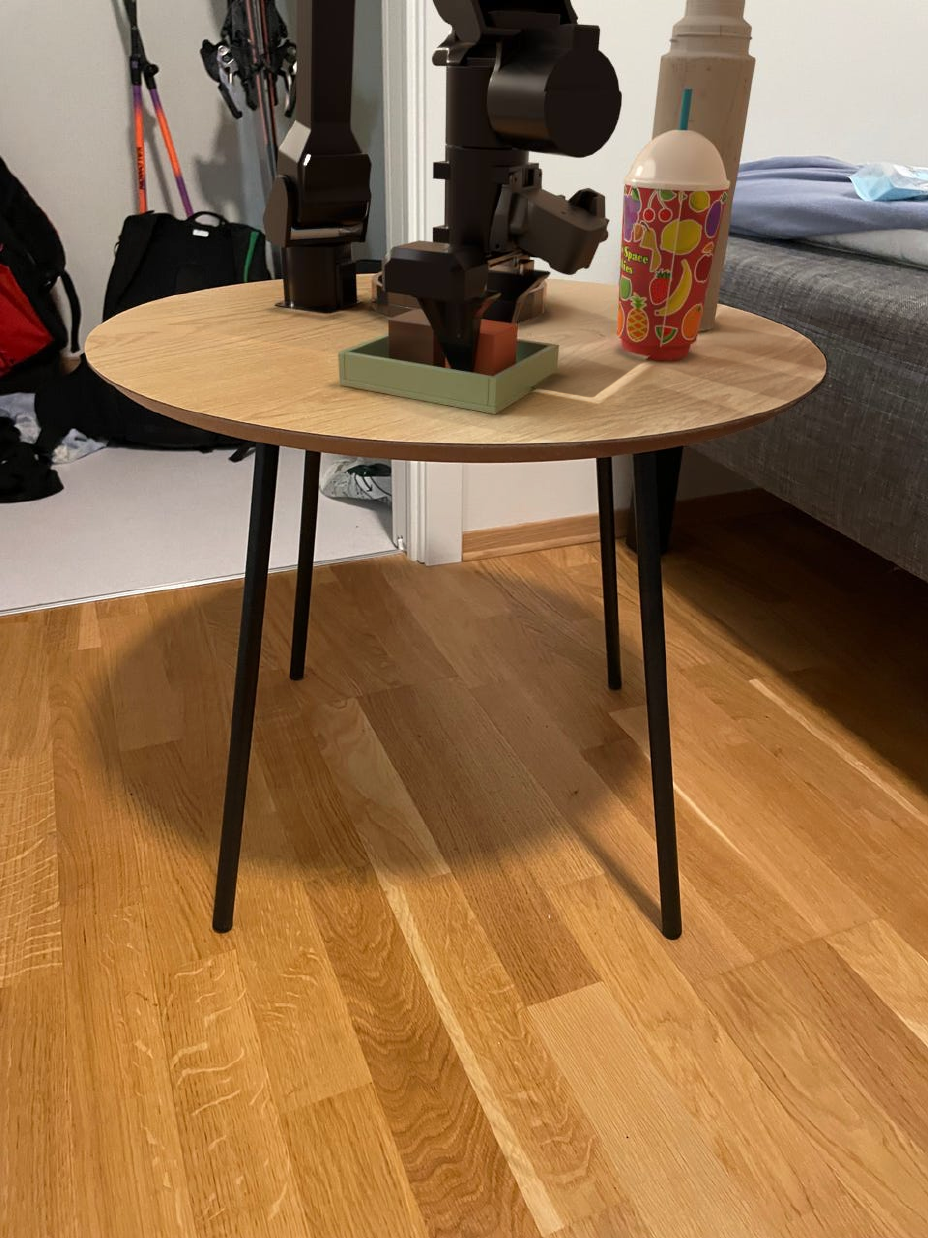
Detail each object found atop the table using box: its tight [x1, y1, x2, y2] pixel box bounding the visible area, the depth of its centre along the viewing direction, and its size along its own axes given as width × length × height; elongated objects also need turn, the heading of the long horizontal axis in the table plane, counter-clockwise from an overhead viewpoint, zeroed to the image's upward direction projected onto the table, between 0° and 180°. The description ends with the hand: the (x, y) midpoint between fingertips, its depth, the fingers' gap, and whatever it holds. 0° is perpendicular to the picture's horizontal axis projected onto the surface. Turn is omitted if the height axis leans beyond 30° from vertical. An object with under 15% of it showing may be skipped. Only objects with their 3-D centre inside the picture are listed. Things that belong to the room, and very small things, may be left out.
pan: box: [371, 270, 548, 324], centre depth 93 cm, size 17×17×3 cm
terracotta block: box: [445, 319, 519, 377], centre depth 70 cm, size 4×4×4 cm
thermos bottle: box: [651, 0, 757, 333], centre depth 84 cm, size 8×8×28 cm
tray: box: [337, 332, 560, 415], centre depth 72 cm, size 13×11×2 cm
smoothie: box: [616, 89, 730, 362], centre depth 76 cm, size 8×8×20 cm
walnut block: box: [387, 309, 446, 368], centre depth 72 cm, size 4×4×4 cm
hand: (479, 374), depth 71 cm, fingers open, 5 cm apart
